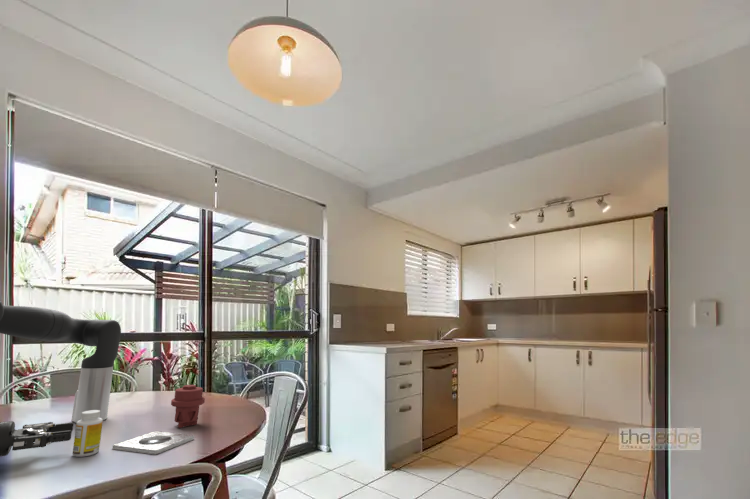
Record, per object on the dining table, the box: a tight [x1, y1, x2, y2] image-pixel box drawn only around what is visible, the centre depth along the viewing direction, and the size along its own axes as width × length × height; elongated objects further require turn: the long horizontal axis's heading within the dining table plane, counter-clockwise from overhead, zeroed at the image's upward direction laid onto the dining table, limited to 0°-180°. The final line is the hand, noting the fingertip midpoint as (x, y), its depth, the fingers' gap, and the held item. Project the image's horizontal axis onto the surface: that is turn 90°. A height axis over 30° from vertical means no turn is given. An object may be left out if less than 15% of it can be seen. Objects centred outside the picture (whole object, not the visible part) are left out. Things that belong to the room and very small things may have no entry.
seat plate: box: [112, 430, 195, 456], centre depth 110 cm, size 14×14×1 cm
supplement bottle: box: [72, 410, 104, 458], centre depth 102 cm, size 6×6×10 cm
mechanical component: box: [170, 384, 206, 429], centre depth 131 cm, size 12×10×10 cm
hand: (72, 430), depth 101 cm, fingers open, 8 cm apart
